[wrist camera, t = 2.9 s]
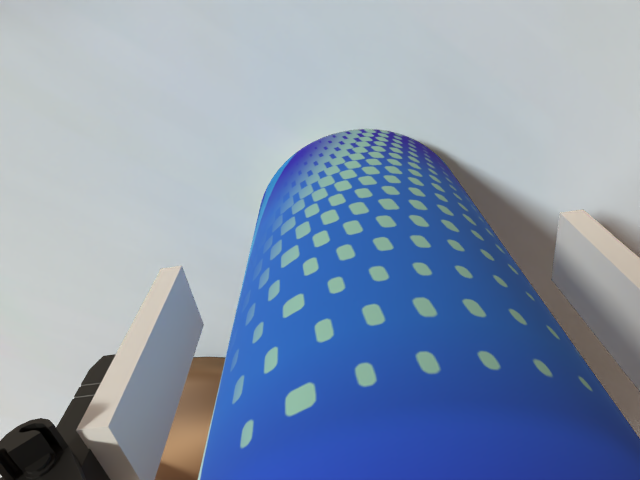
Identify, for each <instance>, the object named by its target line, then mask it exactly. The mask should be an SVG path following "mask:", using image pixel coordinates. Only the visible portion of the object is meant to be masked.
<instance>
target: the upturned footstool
mask: <svg viewBox="0 0 640 480" xmlns="http://www.w3.org/2000/svg"><path fill="white" fill-rule="evenodd" d="M224 363H225V358H217V357H198V358H193V360H192V363H191V366H190V369H189V372H188V376H187V379H186V382H185V385H184V388H183V391H182V394H181V398H180V401H179V404H178V407H177V410H176V413H175V416H174V420H173V423H172V426H171V429H170V432H169V435H168V439H167V442H166V445H165V448H164V451H163V454H162V457H161V461H160V464H159V467H158V470H157V473H156V476H155V480H198V476H199V472H200V467H201V463H202V459H203V454H204V450H205V446H206V441H207V437H208V432H209V428H210V424H211V419H212V415H213V411H214V406H215V402H216V398H217V393H218V389H219V385H220V380H221V376H222V371H223V367H224Z"/></svg>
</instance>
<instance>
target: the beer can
mask: <svg viewBox="0 0 640 480" xmlns="http://www.w3.org/2000/svg"><path fill="white" fill-rule="evenodd" d="M198 480H640V439H639V437H638V436H637V434H636V433H635V432H634V430H633V429H632V427H631V426H630V424H629V423H628V422H627V420H626V419H625V417H624V416H623V414H622V413H621V412H620V410H619V409H618V407H617V406H616V405H615V403H614V402H613V400H612V399H611V397H610V396H609V395H608V393H607V392H606V390H605V389H604V388H603V386H602V385H601V383H600V382H599V380H598V379H597V378H596V376H595V375H594V373H593V372H592V371H591V369H590V368H589V366H588V365H587V363H586V362H585V361H584V359H583V358H582V356H581V355H580V353H579V352H578V351H577V349H576V348H575V346H574V345H573V344H572V342H571V341H570V339H569V338H568V336H567V335H566V334H565V332H564V331H563V329H562V328H561V327H560V325H559V324H558V322H557V321H556V319H555V318H554V317H553V315H552V314H551V312H550V311H549V310H548V308H547V307H546V305H545V304H544V302H543V301H542V300H541V298H540V297H539V295H538V294H537V292H536V291H535V290H534V288H533V287H532V285H531V284H530V283H529V281H528V280H527V278H526V277H525V275H524V274H523V273H522V271H521V270H520V268H519V267H518V266H517V264H516V263H515V261H514V260H513V258H512V257H511V256H510V254H509V253H508V251H507V250H506V249H505V247H504V246H503V244H502V243H501V241H500V240H499V239H498V237H497V236H496V234H495V233H494V231H493V230H492V229H491V227H490V226H489V224H488V223H487V222H486V220H485V219H484V217H483V216H482V214H481V213H480V212H479V210H478V209H477V207H476V206H475V205H474V203H473V202H472V200H471V199H470V197H469V196H468V195H467V193H466V192H465V190H464V189H463V188H462V186H461V185H460V183H459V182H458V180H457V179H456V178H455V176H454V175H453V173H452V172H451V170H450V169H449V168H448V167H447V165H446V164H445V163H444V162H443V160H441V159H440V158H439V157H438V156H437V155H436V154H435V153H434V152H433V151H431V150H430V149H429V148H427V147H426V146H424V145H423V144H421V143H419V142H417V141H415V140H413V139H411V138H409V137H407V136H404V135H401V134H398V133H394V132H390V131H384V130H377V129H357V130H349V131H343V132H339V133H335V134H331V135H328V136H326V137H323V138H320V139H318V140H316V141H314V142H312V143H310V144H309V145H307V146H305V147H303V148H302V149H301V150H299V151H298V152H296V153H295V154H294V155H293V156H292V157H290V158H289V159H288V160H287V161H286V162H285V163H284V164H283V165H282V167H281V168H280V169H279V170H278V171H277V173H276V174H275V175H274V177H273V178H272V180H271V182H270V183H269V185H268V187H267V189H266V191H265V194H264V196H263V199H262V202H261V206H260V210H259V215H258V219H257V223H256V228H255V232H254V236H253V241H252V245H251V249H250V254H249V258H248V263H247V267H246V271H245V276H244V280H243V284H242V289H241V293H240V297H239V302H238V306H237V310H236V315H235V319H234V324H233V328H232V332H231V337H230V341H229V345H228V350H227V354H226V358H225V363H224V367H223V371H222V376H221V380H220V385H219V389H218V393H217V398H216V402H215V406H214V411H213V415H212V419H211V424H210V428H209V432H208V437H207V441H206V446H205V450H204V454H203V459H202V463H201V467H200V472H199V476H198Z"/></svg>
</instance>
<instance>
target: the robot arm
mask: <svg viewBox="0 0 640 480" xmlns="http://www.w3.org/2000/svg"><path fill="white" fill-rule="evenodd" d="M551 279H552V281H553V282H554V283H555V284H556V286H557V287H558V288H559V290H560V291H561V292H562V293H563V295H564V296H565V297H566V298H567V300H568V301H569V302H570V303H571V305H572V306H573V307H574V309H575V310H576V311H577V312H578V314H579V315H580V316H581V317H582V319H583V320H584V321H585V323H586V324H587V325H588V326H589V328H590V329H591V330H592V331H593V333H594V334H595V335H596V337H597V338H598V339H599V340H600V342H601V343H602V344H603V345H604V347H605V348H606V349H607V351H608V352H609V353H610V354H611V356H612V357H613V358H614V359H615V361H616V362H617V363H618V365H619V366H620V367H621V368H622V370H623V371H624V372H625V373H626V375H627V376H628V377H629V378H630V380H631V381H632V382H633V384H634V385H635V386H636V387H637V389H638V390H639V391H640V258H639V257H638V256H637V255H635V254H634V253H633V252H632V251H631V250H630V249H628V248H627V247H626V246H625V245H624V244H623V243H622V242H620V241H619V240H618V239H617V238H616V237H615V236H613V235H612V234H611V233H610V232H609V231H608V230H606V229H605V228H604V227H603V226H602V225H601V224H599V223H598V222H597V221H596V220H595V219H594V218H593V217H591V216H590V215H589V214H588V213H587V212H586V211H584V210H576V211H568V212H561V213H560V214H559V222H558V230H557V238H556V246H555V254H554V262H553V270H552V278H551ZM203 325H204V324H203V321H202V319H201V316H200V313H199V311H198V308H197V305H196V303H195V300H194V297H193V295H192V292H191V289H190V287H189V284H188V281H187V279H186V276H185V273H184V271H183V268H182V266H176V267H169V268H162V269H160V271H159V273H158V275H157V277H156V279H155V281H154V283H153V285H152V287H151V288H150V290H149V292H148V294H147V296H146V298H145V300H144V302H143V304H142V306H141V308H140V309H139V311H138V313H137V315H136V317H135V319H134V321H133V323H132V325H131V327H130V328H129V330H128V332H127V334H126V336H125V338H124V340H123V342H122V344H121V346H120V348H119V349H118V351H117V353H116V354H115V355H107V356H103V357H102V358H101V359H100V360H99V361H98V362H97V363H96V364H95V365H94V366H93V367H92V368H91V369H90V370H89V371H88V373H87V375H86V377H85V378H84V380H83V382H82V384H81V387H79V389H78V391H77V392H76V394H75V396H74V397H75V398H74V399H72V401H71V403H70V405H69V406H68V408H67V410H66V412H65V413H64V415H63V417H62V419H61V420H60V422H59V424H58V426H57V427H55V426H54V424H53V423H52V422H51V421H50V420H48V419H42V418H40V419H35V420H30V421H28V422H26V423H24V424H21V425H19V426H17V427H16V428H15V429H13V430H12V431H11V432H9V433H8V434H6V436H5V437H4V438H3V439H2V440H1V441H0V475H1V476H2V478H0V480H155V476H156V473H157V470H158V467H159V464H160V461H161V457H162V454H163V451H164V448H165V445H166V442H167V439H168V435H169V432H170V429H171V426H172V423H173V420H174V416H175V413H176V410H177V407H178V404H179V401H180V398H181V394H182V391H183V388H184V385H185V382H186V379H187V376H188V372H189V369H190V366H191V363H192V360H193V357H194V353H195V350H196V347H197V344H198V341H199V338H200V335H201V331H202V328H203Z"/></svg>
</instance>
